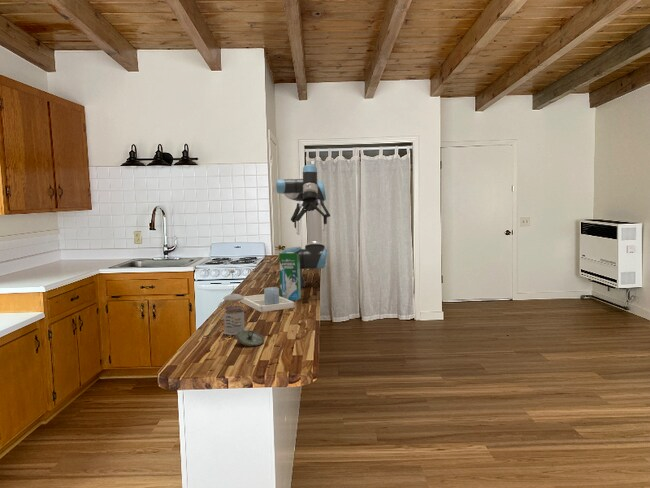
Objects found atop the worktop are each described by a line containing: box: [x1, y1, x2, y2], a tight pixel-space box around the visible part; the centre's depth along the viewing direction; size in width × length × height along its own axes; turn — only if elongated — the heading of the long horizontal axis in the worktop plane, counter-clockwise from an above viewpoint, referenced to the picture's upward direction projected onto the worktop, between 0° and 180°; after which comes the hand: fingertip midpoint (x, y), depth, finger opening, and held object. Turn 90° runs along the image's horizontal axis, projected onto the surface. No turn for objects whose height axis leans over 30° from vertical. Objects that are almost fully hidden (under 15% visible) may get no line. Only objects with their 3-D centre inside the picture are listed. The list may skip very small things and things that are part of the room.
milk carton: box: [278, 252, 302, 301], centre depth 268 cm, size 9×9×25 cm
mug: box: [263, 286, 280, 306], centre depth 248 cm, size 9×7×9 cm
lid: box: [234, 329, 265, 347], centre depth 192 cm, size 11×10×5 cm
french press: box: [217, 269, 247, 336], centre depth 209 cm, size 10×12×25 cm
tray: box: [240, 293, 295, 313], centre depth 256 cm, size 28×17×4 cm, turn 28°
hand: (310, 232), depth 260 cm, fingers open, 13 cm apart
